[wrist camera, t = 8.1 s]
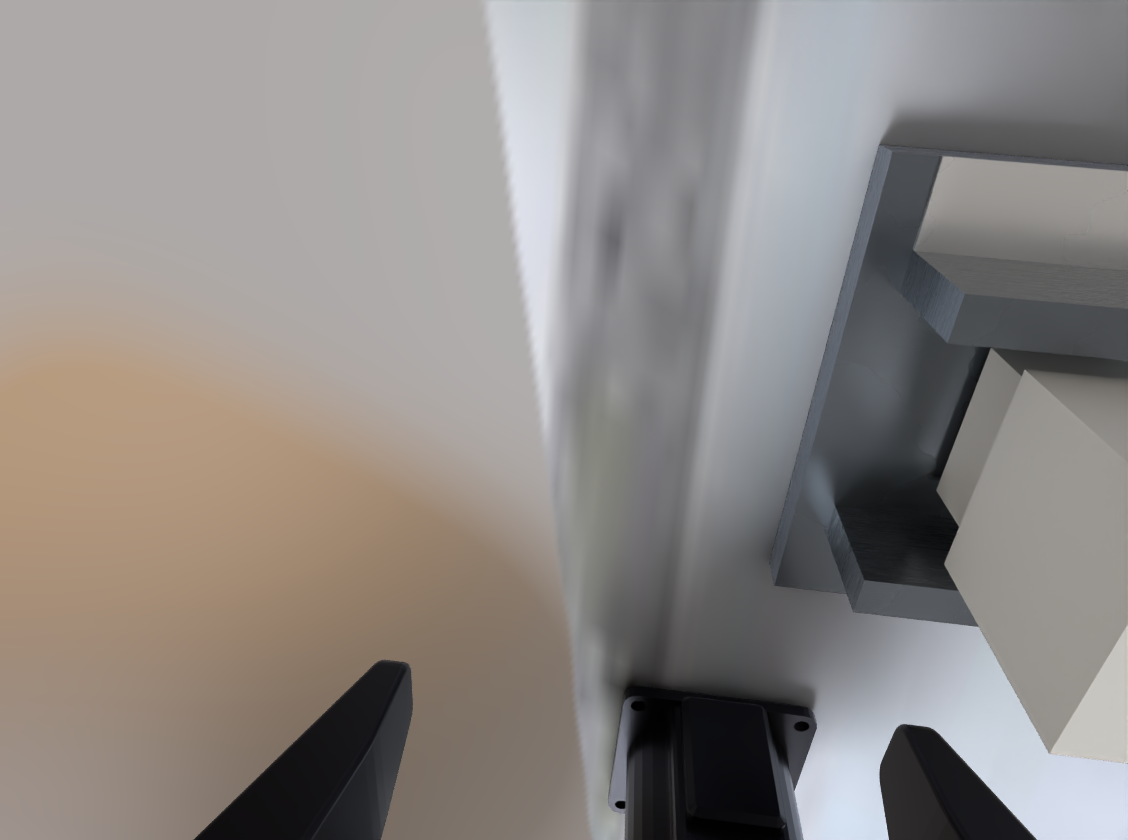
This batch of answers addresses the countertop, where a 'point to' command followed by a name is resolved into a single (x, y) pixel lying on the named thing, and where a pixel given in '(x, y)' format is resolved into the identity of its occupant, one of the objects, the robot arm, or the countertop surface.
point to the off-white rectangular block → (1049, 539)
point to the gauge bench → (940, 355)
